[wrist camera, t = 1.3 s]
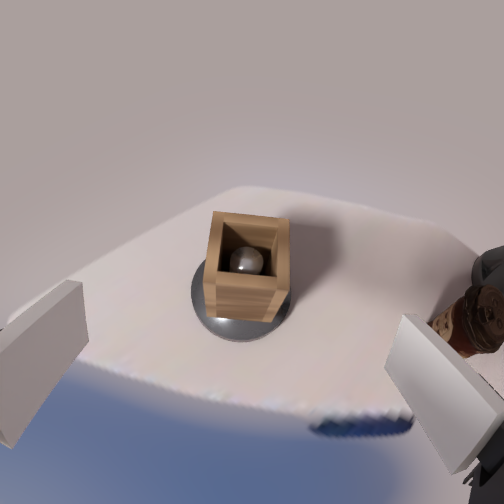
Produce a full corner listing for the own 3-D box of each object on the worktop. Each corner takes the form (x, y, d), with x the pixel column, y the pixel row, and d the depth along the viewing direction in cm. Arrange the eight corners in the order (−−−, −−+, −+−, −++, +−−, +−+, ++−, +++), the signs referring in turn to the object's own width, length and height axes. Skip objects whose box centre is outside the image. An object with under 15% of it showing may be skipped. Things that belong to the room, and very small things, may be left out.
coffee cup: (402, 351, 35) (465, 320, 24) (422, 304, 39) (479, 264, 28) (442, 381, 33) (508, 360, 22) (459, 335, 37) (518, 303, 26)
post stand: (303, 321, 36) (327, 295, 28) (210, 355, 33) (207, 338, 25) (266, 242, 41) (277, 200, 34) (180, 267, 38) (171, 228, 30)
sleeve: (271, 322, 34) (289, 290, 26) (206, 316, 34) (202, 281, 25) (273, 265, 38) (289, 219, 29) (214, 259, 38) (213, 211, 29)
